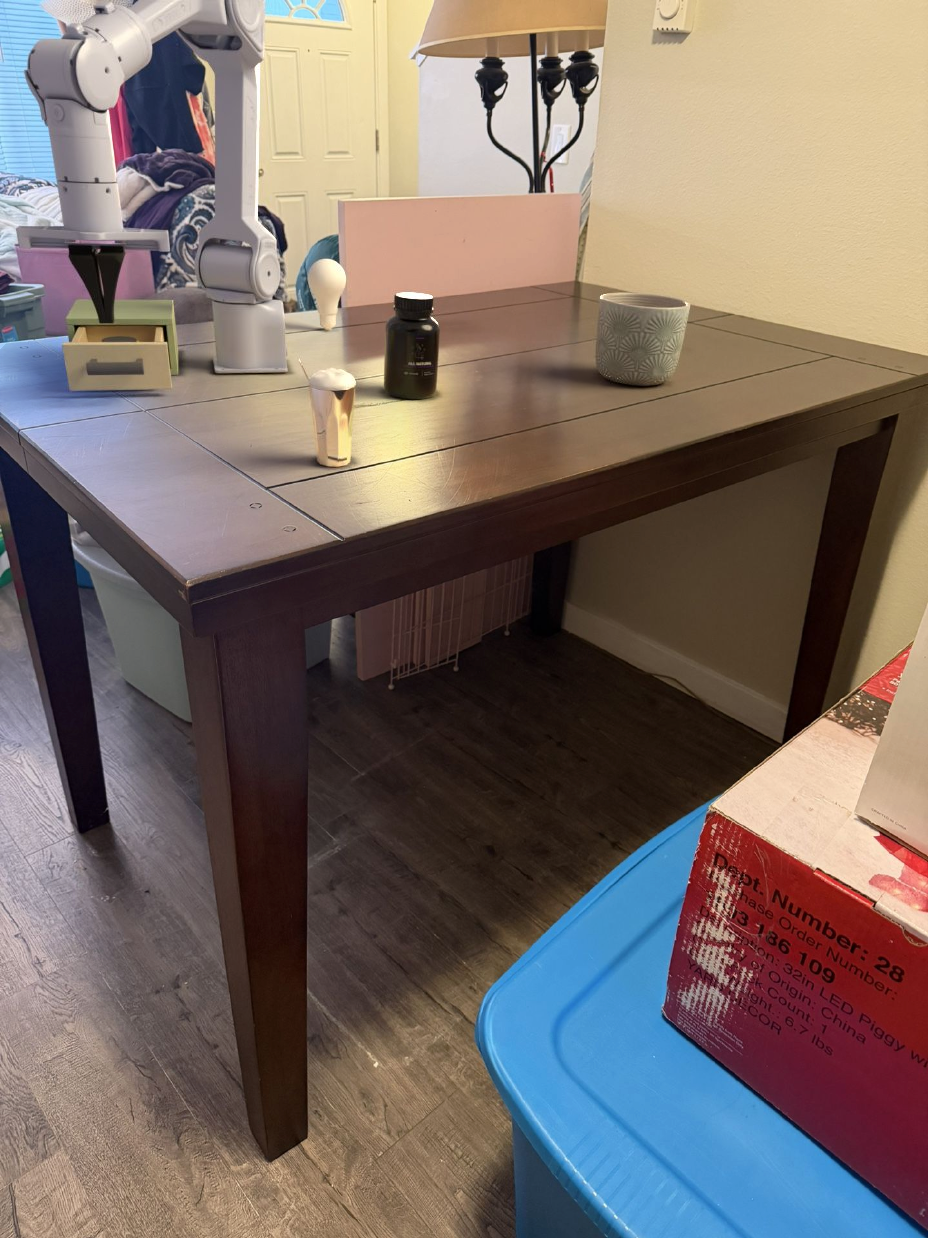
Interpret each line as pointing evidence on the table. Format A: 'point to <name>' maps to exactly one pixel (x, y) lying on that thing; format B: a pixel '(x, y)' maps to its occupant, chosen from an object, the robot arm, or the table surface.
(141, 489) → the table surface
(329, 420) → the milkshake
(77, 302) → the cabinet
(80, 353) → the drawer
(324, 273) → the lightbulb
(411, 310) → the supplement bottle
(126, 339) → the cap
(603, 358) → the planter
